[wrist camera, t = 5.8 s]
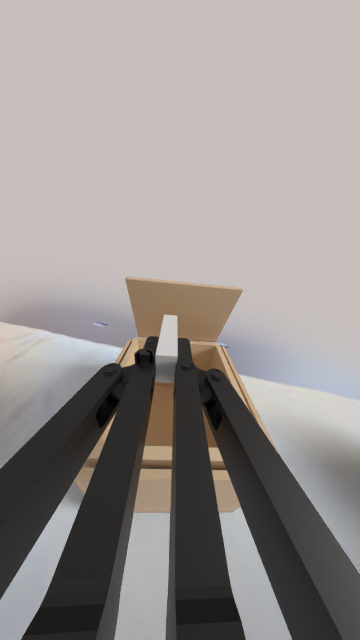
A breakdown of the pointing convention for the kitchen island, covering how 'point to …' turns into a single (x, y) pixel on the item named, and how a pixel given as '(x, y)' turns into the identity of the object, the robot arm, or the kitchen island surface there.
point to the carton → (160, 431)
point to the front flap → (181, 307)
